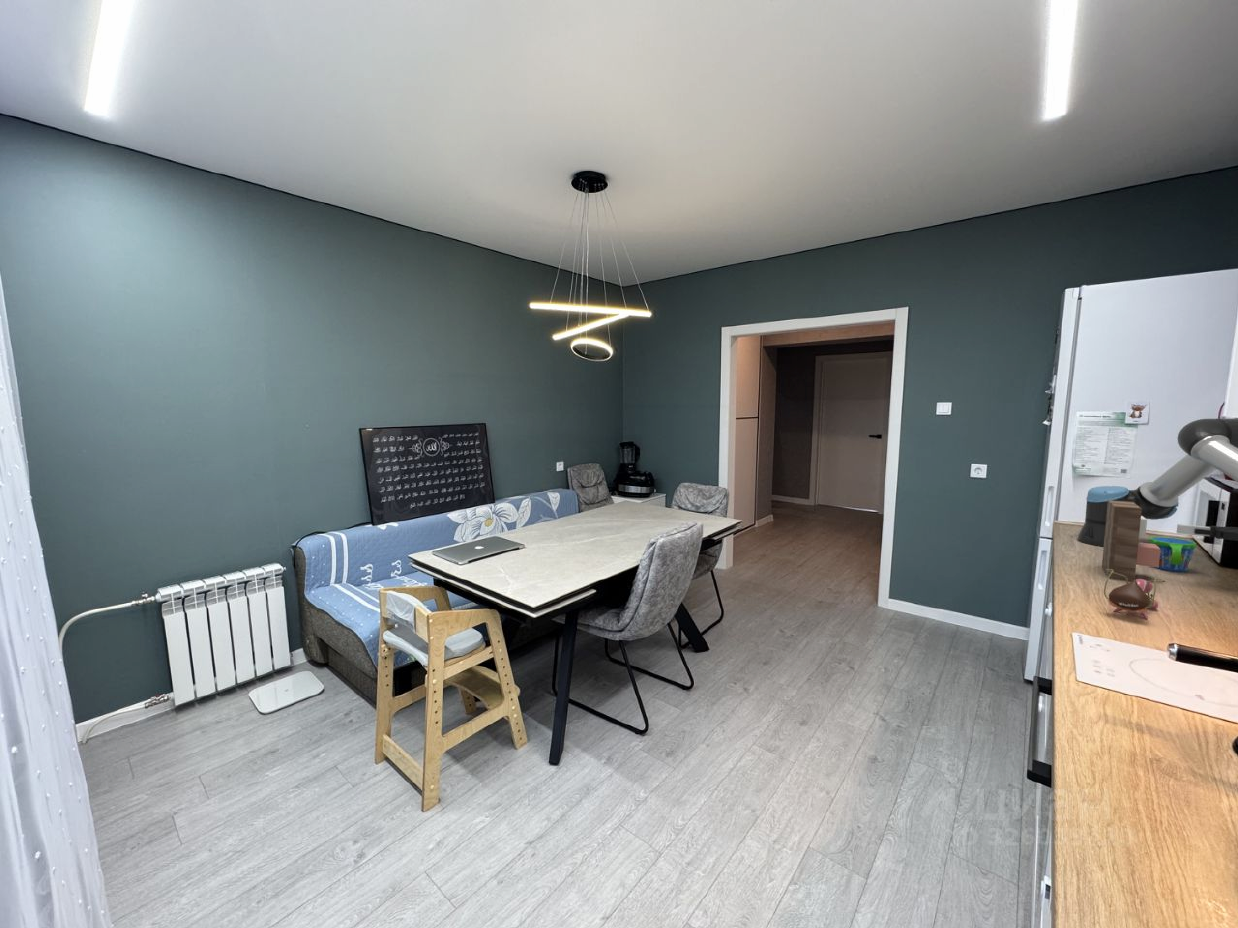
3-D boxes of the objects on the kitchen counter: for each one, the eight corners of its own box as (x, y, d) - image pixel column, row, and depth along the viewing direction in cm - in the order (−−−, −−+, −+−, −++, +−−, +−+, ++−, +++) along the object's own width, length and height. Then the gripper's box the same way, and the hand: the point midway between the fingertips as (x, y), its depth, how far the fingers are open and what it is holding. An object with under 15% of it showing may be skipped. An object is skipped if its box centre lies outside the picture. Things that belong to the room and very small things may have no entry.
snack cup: (1146, 560, 177) (1149, 533, 176) (1191, 567, 170) (1194, 538, 168) (1147, 570, 166) (1150, 541, 165) (1195, 578, 159) (1198, 547, 158)
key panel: (1101, 567, 171) (1107, 500, 168) (1126, 570, 167) (1132, 501, 164) (1108, 578, 160) (1114, 506, 157) (1134, 582, 156) (1141, 508, 153)
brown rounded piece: (1177, 596, 134) (1171, 560, 127) (1162, 643, 129) (1156, 607, 122) (1119, 584, 144) (1111, 550, 137) (1104, 627, 139) (1094, 593, 132)
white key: (1119, 531, 164) (1120, 514, 164) (1140, 533, 161) (1142, 515, 161) (1123, 535, 159) (1124, 517, 158) (1145, 538, 156) (1147, 519, 155)
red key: (1131, 559, 163) (1133, 541, 163) (1153, 561, 160) (1155, 544, 160) (1135, 564, 158) (1137, 546, 157) (1158, 567, 155) (1160, 548, 154)
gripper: (1310, 558, 134) (1181, 544, 149) (1289, 547, 144) (1171, 536, 159) (1313, 531, 133) (1184, 520, 148) (1292, 522, 144) (1173, 513, 158)
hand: (1177, 528), depth 154 cm, fingers closed
